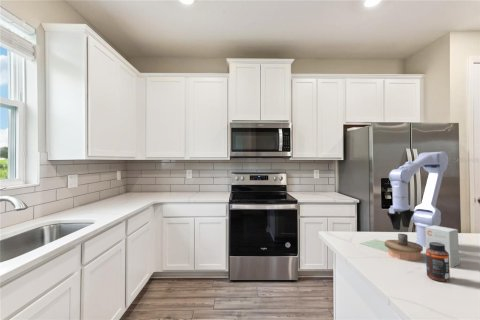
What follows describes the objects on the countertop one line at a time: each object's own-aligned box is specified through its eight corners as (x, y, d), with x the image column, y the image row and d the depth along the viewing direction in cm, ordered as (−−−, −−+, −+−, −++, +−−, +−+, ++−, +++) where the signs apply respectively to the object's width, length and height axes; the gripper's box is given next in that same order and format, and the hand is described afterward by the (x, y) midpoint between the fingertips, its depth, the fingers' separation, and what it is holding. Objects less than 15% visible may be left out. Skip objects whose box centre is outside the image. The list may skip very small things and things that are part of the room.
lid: (395, 242, 109) (395, 229, 109) (429, 250, 98) (429, 236, 98) (378, 247, 103) (377, 233, 103) (412, 257, 92) (411, 241, 92)
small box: (459, 264, 92) (458, 229, 92) (450, 267, 89) (449, 231, 89) (434, 257, 99) (433, 224, 99) (425, 260, 96) (424, 226, 96)
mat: (375, 240, 122) (375, 239, 122) (403, 247, 111) (403, 246, 111) (359, 244, 116) (359, 243, 116) (387, 252, 105) (386, 251, 105)
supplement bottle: (454, 283, 77) (453, 247, 78) (432, 281, 79) (431, 246, 79) (442, 274, 83) (441, 241, 83) (422, 273, 84) (422, 240, 85)
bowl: (397, 250, 108) (397, 241, 108) (425, 258, 98) (425, 248, 98) (383, 255, 102) (382, 245, 102) (411, 264, 93) (411, 253, 93)
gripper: (399, 194, 114) (400, 224, 114) (381, 197, 107) (382, 228, 107) (416, 196, 108) (417, 227, 108) (398, 199, 101) (399, 232, 101)
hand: (401, 228), depth 107 cm, fingers open, 7 cm apart
